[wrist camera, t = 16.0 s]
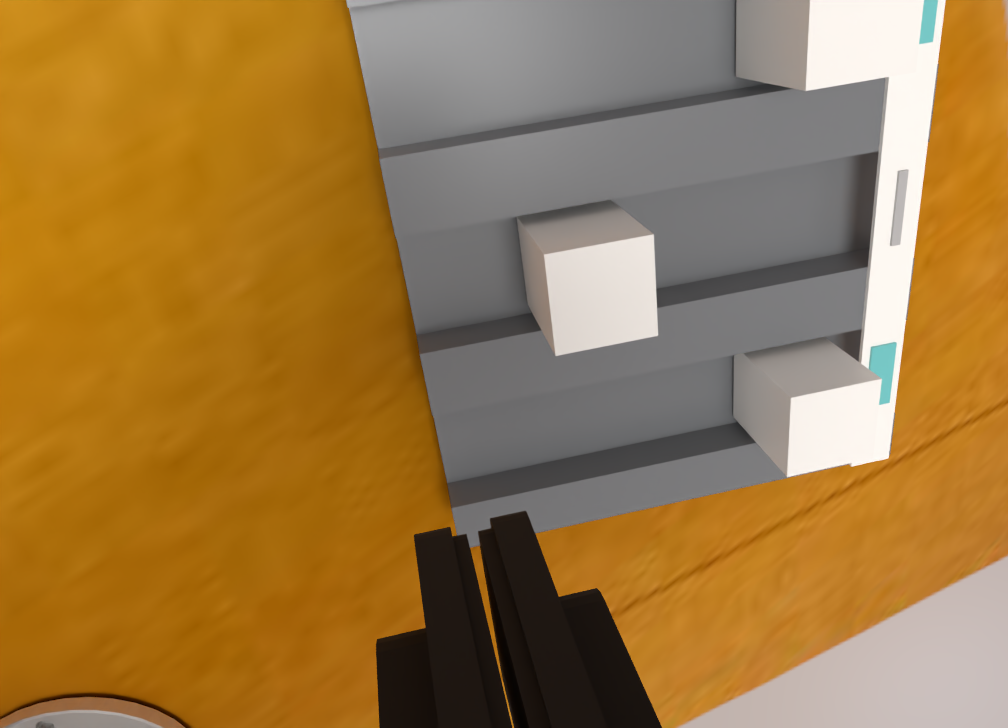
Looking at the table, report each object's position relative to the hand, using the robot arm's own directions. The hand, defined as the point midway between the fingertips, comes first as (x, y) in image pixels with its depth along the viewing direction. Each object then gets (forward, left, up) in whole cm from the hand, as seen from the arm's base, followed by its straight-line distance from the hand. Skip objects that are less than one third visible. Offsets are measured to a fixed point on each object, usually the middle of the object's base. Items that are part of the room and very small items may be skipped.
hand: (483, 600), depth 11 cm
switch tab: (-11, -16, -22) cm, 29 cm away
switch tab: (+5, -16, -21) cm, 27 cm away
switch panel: (-3, -10, -23) cm, 26 cm away
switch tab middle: (-3, -6, -22) cm, 23 cm away
